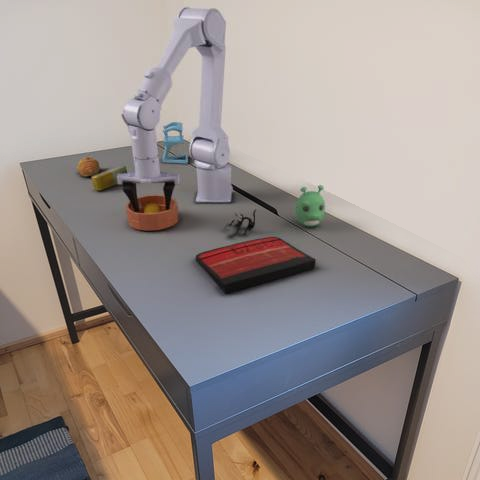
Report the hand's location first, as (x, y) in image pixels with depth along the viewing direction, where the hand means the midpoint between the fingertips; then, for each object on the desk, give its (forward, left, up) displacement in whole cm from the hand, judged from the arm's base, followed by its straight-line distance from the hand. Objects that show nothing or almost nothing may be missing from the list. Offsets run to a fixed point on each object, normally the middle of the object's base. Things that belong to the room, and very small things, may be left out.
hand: (152, 211), depth 118 cm
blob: (0, 0, -2) cm, 2 cm away
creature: (-21, +6, -3) cm, 22 cm away
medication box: (+17, -26, -3) cm, 31 cm away
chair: (+1, -49, -3) cm, 49 cm away
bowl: (0, 0, -3) cm, 3 cm away
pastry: (+26, -37, -1) cm, 45 cm away
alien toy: (-38, +3, -3) cm, 39 cm away
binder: (-24, +22, -3) cm, 33 cm away
